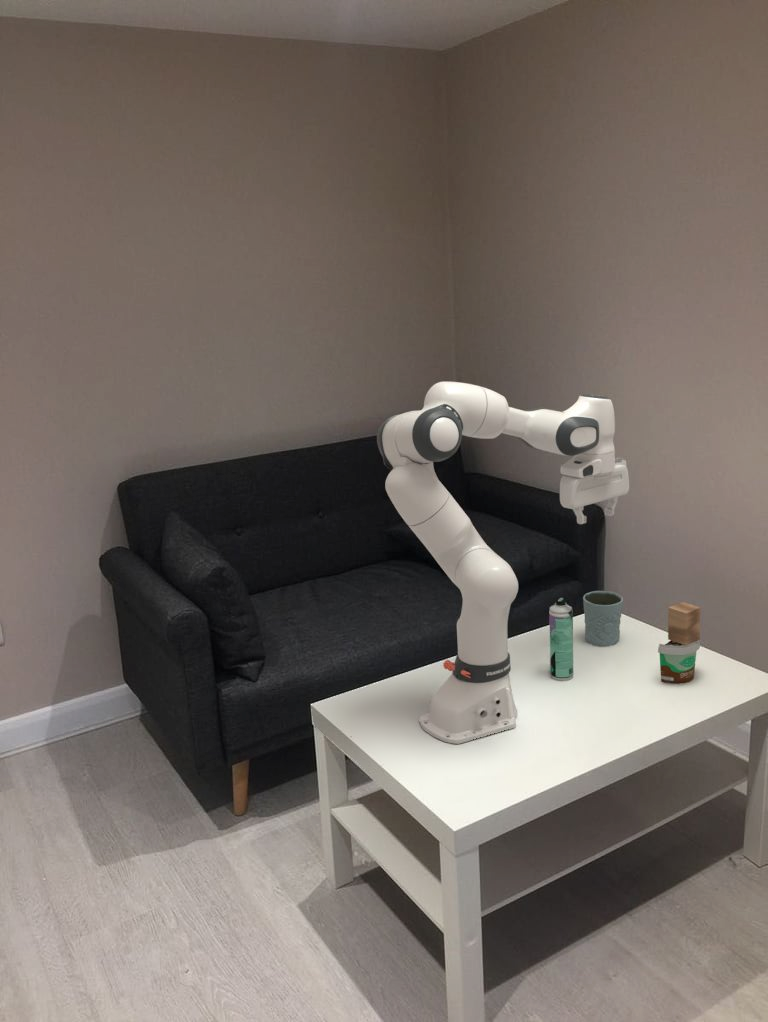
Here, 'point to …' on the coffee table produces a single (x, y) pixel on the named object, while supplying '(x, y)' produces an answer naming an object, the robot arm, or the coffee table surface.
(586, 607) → the plant pot
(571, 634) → the spray can
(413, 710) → the coffee table surface
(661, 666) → the ice cream tub
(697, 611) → the walnut block
